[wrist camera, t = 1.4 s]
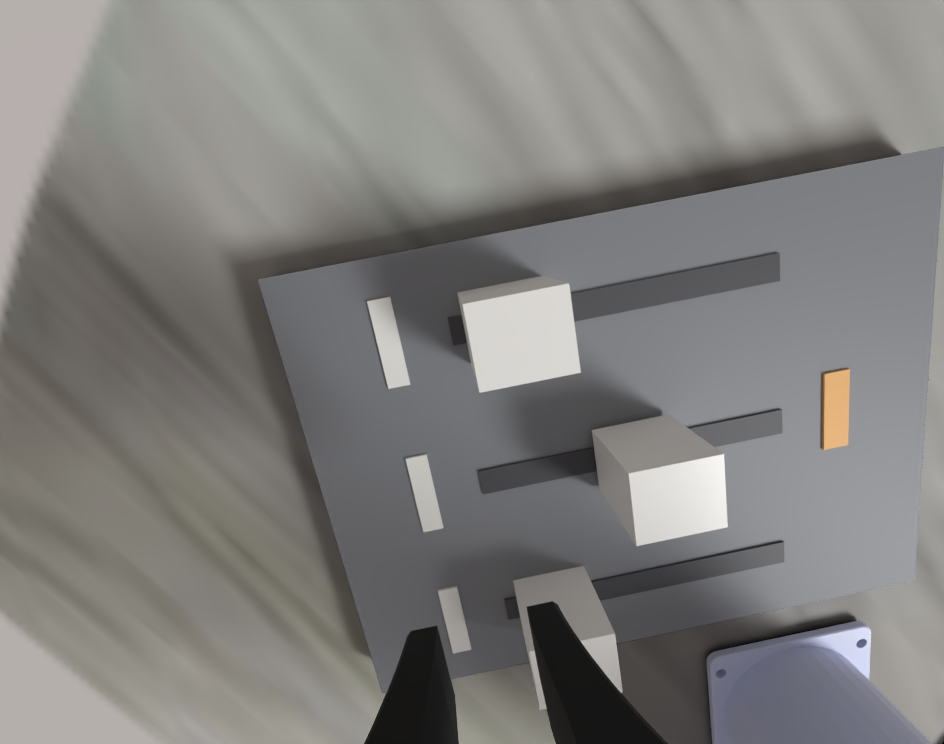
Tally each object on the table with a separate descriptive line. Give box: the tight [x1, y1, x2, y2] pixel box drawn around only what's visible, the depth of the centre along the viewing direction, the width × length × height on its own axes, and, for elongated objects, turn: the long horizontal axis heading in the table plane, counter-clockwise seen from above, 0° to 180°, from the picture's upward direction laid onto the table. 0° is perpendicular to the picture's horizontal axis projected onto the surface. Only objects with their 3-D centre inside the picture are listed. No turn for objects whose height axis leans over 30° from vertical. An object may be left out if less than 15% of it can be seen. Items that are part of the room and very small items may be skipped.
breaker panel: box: [258, 147, 944, 710], centre depth 18 cm, size 18×24×5 cm
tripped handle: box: [592, 414, 728, 546], centre depth 17 cm, size 3×3×4 cm
